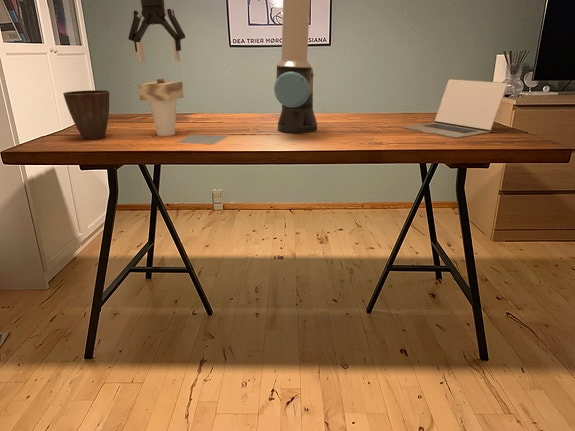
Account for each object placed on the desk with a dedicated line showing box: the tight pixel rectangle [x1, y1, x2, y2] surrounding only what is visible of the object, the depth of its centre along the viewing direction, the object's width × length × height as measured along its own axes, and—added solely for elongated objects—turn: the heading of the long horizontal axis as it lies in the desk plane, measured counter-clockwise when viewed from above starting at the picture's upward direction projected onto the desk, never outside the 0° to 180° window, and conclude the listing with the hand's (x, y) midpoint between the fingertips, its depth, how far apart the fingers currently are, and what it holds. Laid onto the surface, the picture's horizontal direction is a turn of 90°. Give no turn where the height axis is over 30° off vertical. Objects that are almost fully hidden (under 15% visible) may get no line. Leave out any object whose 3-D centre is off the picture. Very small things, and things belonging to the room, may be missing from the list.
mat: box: [174, 134, 229, 145], centre depth 159 cm, size 14×14×1 cm
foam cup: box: [148, 99, 177, 137], centre depth 166 cm, size 10×9×13 cm
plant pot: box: [63, 89, 110, 140], centre depth 162 cm, size 15×15×16 cm
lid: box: [138, 78, 184, 102], centre depth 162 cm, size 11×11×7 cm
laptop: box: [401, 78, 508, 140], centre depth 169 cm, size 26×24×18 cm
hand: (159, 61), depth 159 cm, fingers open, 13 cm apart
